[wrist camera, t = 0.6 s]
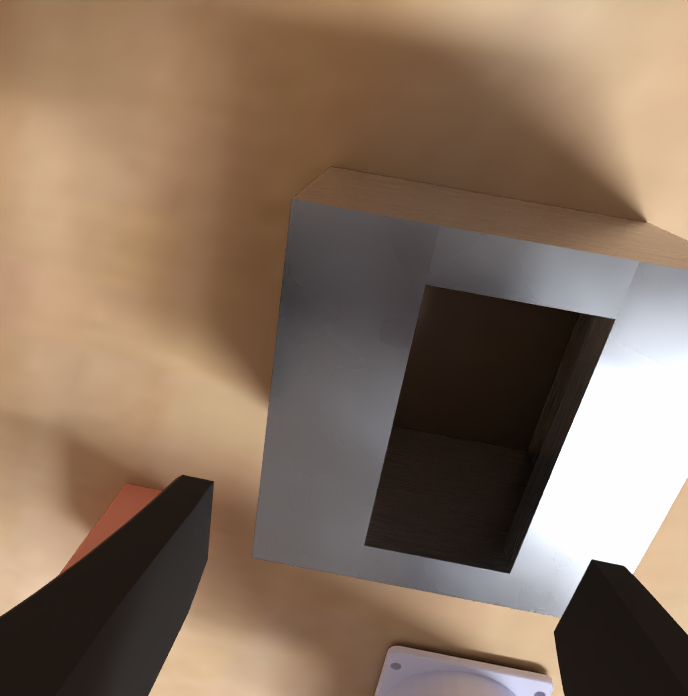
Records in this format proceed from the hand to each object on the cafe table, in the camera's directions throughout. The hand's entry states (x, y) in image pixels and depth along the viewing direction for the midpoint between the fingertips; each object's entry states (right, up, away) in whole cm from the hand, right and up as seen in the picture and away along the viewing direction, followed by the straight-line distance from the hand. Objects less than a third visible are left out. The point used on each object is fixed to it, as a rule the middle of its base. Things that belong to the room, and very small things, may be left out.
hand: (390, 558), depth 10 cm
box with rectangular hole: (+3, +4, +8) cm, 10 cm away
